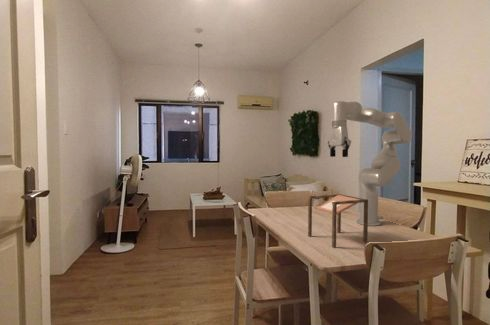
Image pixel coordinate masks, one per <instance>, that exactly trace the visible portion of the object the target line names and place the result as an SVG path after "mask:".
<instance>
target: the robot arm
mask: <svg viewBox="0 0 490 325" xmlns="http://www.w3.org/2000/svg"><path fill="white" fill-rule="evenodd" d="M347 121H353V122H359V123H364V124H365V123H366V124H369V125H373V126H376V127H379V128H382V129H386V128H387V130H386V131H384V132H383V133H382V136H381V140H382V149H381V150H380V152H379V153H378V154H377V155H376V156H375V157H374V158H373V160H371V164H370V166H371V168H370V167H366V168H363V169H360V171H359V172H358V183H359V198H362V199H367V200H368V227H371V226H372V227H375V226H376V227H377V226H381V224H382V223H381V221H380V220H383V219H385V218H384V216H383V215H379V214H378V212H379V190H378V187H381V188H382V187H386V186H387V185H389V184H390V183H391V181H392V180H393V179H394V178H395V177H396V176H397V174H398V173H399V171H400V169H401V166H402V162H401V159H400V158H399V157H398V156H397V154H398V151H397V148H396V145H405V144H408V143H410V142H411V141H412V138H413V134H412V131H411V129H410V127H409V124H408V123H407V120H406V119H405V117H404V116H403V115H402V113H401V112H398V111H391V112H385V111H382V110H378V109H375V108H372V107H363V105H362V104H361V103H360V102H358V101H342V100H340V101H334V102H332V106H331V128H330V130H329V131H330V132H329V140H328V141H327V144H328V148H329V157H331V158H334V157H336V147H342V150H341V151H342V153H341V154H342V155H341V156H342V158H348V157H349V150H350V147H351V144H352V140H351V139H350V138H349V132H348V131H349V130H348V126H347V125H348V123H347ZM388 128H394V129H388ZM356 223H357V224H358V225H363V226H364V202H362V203H359V219H357V220H356Z"/></svg>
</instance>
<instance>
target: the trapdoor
mask: <svg viewBox="0 0 490 325" xmlns="http://www.w3.org/2000/svg"><path fill="white" fill-rule="evenodd" d="M341 195H342V194H341ZM341 195H337V196H335V197H330V198H329V199H327V200H325V201H324V202H322V203H319V204H318V205H316V206H314V210H318V211H321V212H323V213H327V214H331V215H332V209H333V204H332V202H337V201H349V200H361V199H356V198H351V197H346V196H347V195H346V196H341ZM357 204H358V203H350V204H338V205H337V214H339V213H341V214H342V212H345V211H346V210H349V209H350V208H351V207H353V206H354V207H355V205H357Z"/></svg>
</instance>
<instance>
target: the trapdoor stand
mask: <svg viewBox="0 0 490 325" xmlns="http://www.w3.org/2000/svg"><path fill="white" fill-rule="evenodd" d="M337 195H341V196H346V197H351V198H356V199H361V200H349V201H337V202H332V204H333V209H332V214H331V215H332V218H331V219H332V222H331V223H332V224H331V225H332V227H331V248H333V249H334V248H337V233H338V234H340V233H341V231H342V230H341V229H342V227H341V225H342V223H341V222H342V212H341V213H339V214H337V205H338V204H350V203H357V204H360V203H362V202H364V225H363V234H362V238H363V239H362V241H363V243H364V244H368V232H369V230H368V229H369V228H368V227H369V226H368V200H367V199H362V198H360V197H357V196H350V195H346V194H341V193H340V194H339V193H337V194H323V195H309V196H308V203H307V204H308V208H307V210H308V212H307V215H308V217H307V218H308V220H307V221H308V222H307V224H308V225H307V237H309V238H312V236H313V234H312V233H313V232H312V231H313V228H312V227H313V226H312V225H313V224H312V223H313V221H312V220H313V199H325V198H326V199H327V198H333V197H335V196H337Z"/></svg>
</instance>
